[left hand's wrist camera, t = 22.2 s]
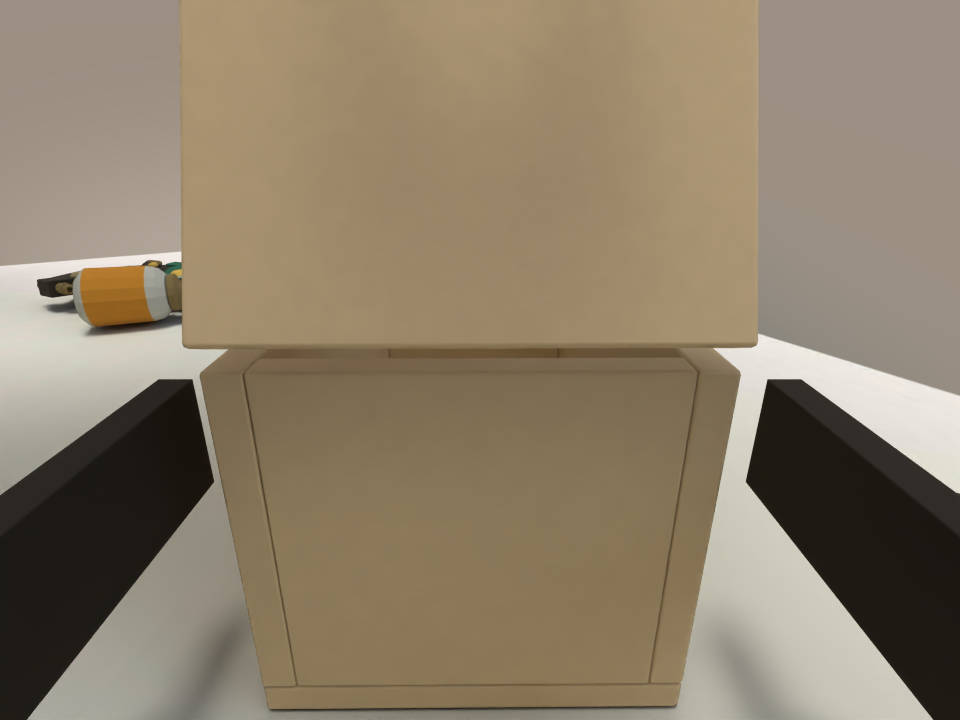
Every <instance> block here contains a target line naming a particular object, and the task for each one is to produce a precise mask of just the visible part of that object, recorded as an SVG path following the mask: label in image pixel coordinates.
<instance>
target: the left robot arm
mask: <svg viewBox="0 0 960 720" xmlns="http://www.w3.org/2000/svg"><path fill="white" fill-rule="evenodd" d="M213 483H214V479H213V474H212V469H211V465H210V460H209V455H208V450H207V446H206V441H205V436H204V432H203V427H202V422H201V418H200V413H199V408H198V403H197V399H196V394H195V389H194V385H193V380H192V379H159V380H157V381H156V382H155V383H153V384H152V385H151V386H149V387H148V388H146V389H145V390H144V391H142V392H141V393H140V394H138V395H137V396H135V397H134V398H133V399H131V400H130V401H129V402H127V403H126V404H125V405H123V406H122V407H120V408H119V409H118V410H116V411H115V412H114V413H112V414H111V415H110V416H108V417H107V418H105V419H104V420H103V421H101V422H100V423H99V424H97V425H96V426H94V427H93V428H92V429H90V430H89V431H88V432H86V433H85V434H84V435H82V436H81V437H79V438H78V439H77V440H75V441H74V442H73V443H71V444H70V445H69V446H67V447H66V448H64V449H63V450H62V451H60V452H59V453H58V454H56V455H55V456H53V457H52V458H51V459H49V460H48V461H47V462H45V463H44V464H43V465H41V466H40V467H38V468H37V469H36V470H34V471H33V472H32V473H30V474H29V475H28V476H26V477H25V478H23V479H22V480H21V481H19V482H18V483H17V484H15V485H14V486H12V487H11V488H10V489H8V490H7V491H6V492H4V493H3V494H2V495H0V720H27V719H28V717H29V716H30V715H31V714H32V712H33V711H34V710H35V709H36V707H37V706H38V705H39V703H40V702H41V701H42V700H43V698H44V697H45V696H46V695H47V693H48V692H49V691H50V690H51V688H52V687H53V686H54V684H55V683H56V682H57V681H58V679H59V678H60V677H61V676H62V674H63V673H64V672H65V671H66V669H67V668H68V667H69V665H70V664H71V663H72V662H73V660H74V659H75V658H76V657H77V655H78V654H79V653H80V651H81V650H82V649H83V648H84V646H85V645H86V644H87V643H88V641H89V640H90V639H91V638H92V636H93V635H94V634H95V632H96V631H97V630H98V629H99V627H100V626H101V625H102V624H103V622H104V621H105V620H106V618H107V617H108V616H109V615H110V613H111V612H112V611H113V610H114V608H115V607H116V606H117V605H118V603H119V602H120V601H121V599H122V598H123V597H124V596H125V594H126V593H127V592H128V591H129V589H130V588H131V587H132V585H133V584H134V583H135V582H136V580H137V579H138V578H139V577H140V575H141V574H142V573H143V572H144V570H145V569H146V568H147V566H148V565H149V564H150V563H151V561H152V560H153V559H154V558H155V556H156V555H157V554H158V552H159V551H160V550H161V549H162V547H163V546H164V545H165V544H166V542H167V541H168V540H169V539H170V537H171V536H172V535H173V533H174V532H175V531H176V530H177V528H178V527H179V526H180V525H181V523H182V522H183V521H184V519H185V518H186V517H187V516H188V514H189V513H190V512H191V511H192V509H193V508H194V507H195V506H196V504H197V503H198V502H199V500H200V499H201V498H202V497H203V495H204V494H205V493H206V492H207V490H208V489H209V488H210V486H211V485H212V484H213ZM746 483H747V484H748V485H749V486H750V488H751V489H752V490H753V492H754V493H755V494H756V495H757V497H758V498H759V499H760V500H761V502H762V503H763V504H764V506H765V507H766V508H767V509H768V511H769V512H770V513H771V514H772V516H773V517H774V518H775V519H776V521H777V522H778V523H779V525H780V526H781V527H782V528H783V530H784V531H785V532H786V533H787V535H788V536H789V537H790V539H791V540H792V541H793V542H794V544H795V545H796V546H797V547H798V549H799V550H800V551H801V552H802V554H803V555H804V556H805V558H806V559H807V560H808V561H809V563H810V564H811V565H812V566H813V568H814V569H815V570H816V572H817V573H818V574H819V575H820V577H821V578H822V579H823V580H824V582H825V583H826V584H827V585H828V587H829V588H830V589H831V591H832V592H833V593H834V594H835V596H836V597H837V598H838V599H839V601H840V602H841V603H842V605H843V606H844V607H845V608H846V610H847V611H848V612H849V613H850V615H851V616H852V617H853V618H854V620H855V621H856V622H857V624H858V625H859V626H860V627H861V629H862V630H863V631H864V632H865V634H866V635H867V636H868V638H869V639H870V640H871V641H872V643H873V644H874V645H875V646H876V648H877V649H878V650H879V651H880V653H881V654H882V655H883V657H884V658H885V659H886V660H887V662H888V663H889V664H890V665H891V667H892V668H893V669H894V671H895V672H896V673H897V674H898V676H899V677H900V678H901V679H902V681H903V682H904V683H905V684H906V686H907V687H908V688H909V690H910V691H911V692H912V693H913V695H914V696H915V697H916V698H917V700H918V701H919V702H920V704H921V705H922V706H923V707H924V709H925V710H926V711H927V712H928V714H929V715H930V716H931V717H932V719H933V720H960V494H959V493H956V492H954V491H953V490H952V489H950V488H949V487H948V486H946V485H945V484H943V483H942V482H941V481H939V480H938V479H937V478H935V477H934V476H932V475H931V474H930V473H928V472H927V471H926V470H924V469H923V468H922V467H920V466H919V465H917V464H916V463H915V462H913V461H912V460H911V459H909V458H908V457H907V456H905V455H904V454H902V453H901V452H900V451H898V450H897V449H896V448H894V447H893V446H891V445H890V444H889V443H887V442H886V441H885V440H883V439H882V438H881V437H879V436H878V435H876V434H875V433H874V432H872V431H871V430H870V429H868V428H867V427H866V426H864V425H863V424H861V423H860V422H859V421H857V420H856V419H855V418H853V417H852V416H850V415H849V414H848V413H846V412H845V411H844V410H842V409H841V408H840V407H838V406H837V405H835V404H834V403H833V402H831V401H830V400H829V399H827V398H826V397H825V396H823V395H822V394H820V393H819V392H818V391H816V390H815V389H814V388H812V387H811V386H809V385H808V384H807V383H805V382H804V381H803V380H801V379H768V380H767V385H766V389H765V394H764V399H763V403H762V408H761V413H760V418H759V422H758V427H757V432H756V436H755V441H754V446H753V450H752V455H751V460H750V465H749V469H748V474H747V479H746Z"/></svg>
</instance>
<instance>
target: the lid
mask: <svg viewBox="0 0 960 720" xmlns="http://www.w3.org/2000/svg"><path fill="white" fill-rule="evenodd" d="M758 25H759V0H180V114H181V241H182V344H183V346H184V347H185V348H188V349H512V348H752V347H754V346H756V345H757V343H758V35H759V32H758V31H759V30H758V29H759V27H758Z"/></svg>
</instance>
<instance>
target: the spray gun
mask: <svg viewBox="0 0 960 720" xmlns="http://www.w3.org/2000/svg"><path fill="white" fill-rule="evenodd" d="M37 286H38V288H39V291H40V294H41V295H42V296H47V297H51V298H54V297H61V296H67V295H73V298H74V304H75V307H76V310H77V312H78V314H79V316H80V317H81V318H82V319H83V320H84V321H85V322H87V323H88V324H89V325H91V326H93V327H97V326H107V325H118V324H128V323H138V322H149V321H158V320H160V319H163V318H166V317H167V316H168V315H169V314H170V313H171V311H172V310H173V311H174V310H181V309H182V263H181V262H172V263H168V264H166V265H162V262H161V261H155V260H148V261H146V262H145V263H143V264H142V265H138V266H124V267H106V268H84V269H82V270H81V271H78V272H73V273H69V274H65V275H60V276H56V277H52V278H46V279H38V280H37Z"/></svg>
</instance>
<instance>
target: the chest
mask: <svg viewBox="0 0 960 720" xmlns="http://www.w3.org/2000/svg"><path fill="white" fill-rule="evenodd" d="M740 376H741V374H740V371H739V370H738V369H737V368H735V367H734V366H733V365H732V364H731V363H730V362H728V361H727V360H726V359H725V358H724V357H723V356H721V355H720V354H719V353H718V352H717V351H715V350H714V349H713V348H512V349H229V350H227V351H226V352H225V353H224V354H223V355H221V356H220V357H219V358H218V359H217V360H215V361H214V362H213V363H212V364H210V365H209V366H208V367H207V368H206V369H204V370H203V371H202V372H201V373H200V380H201V385H202V390H203V395H204V399H205V404H206V409H207V414H208V419H209V424H210V429H211V433H212V438H213V443H214V448H215V453H216V458H217V463H218V468H219V472H220V477H221V482H222V487H223V492H224V497H225V502H226V506H227V511H228V516H229V521H230V526H231V531H232V536H233V541H234V545H235V550H236V555H237V560H238V565H239V570H240V575H241V579H242V584H243V589H244V594H245V599H246V604H247V609H248V613H249V618H250V623H251V628H252V633H253V638H254V643H255V648H256V652H257V657H258V662H259V667H260V672H261V677H262V682H263V685H264V686H265V693H266V698H267V703H268V707H269V708H270V709H342V708H469V707H596V706H675V705H677V703H678V697H679V692H680V687H681V683H680V682H681V681H682V678H683V673H684V667H685V662H686V657H687V652H688V647H689V641H690V636H691V631H692V626H693V621H694V615H695V610H696V605H697V600H698V595H699V589H700V584H701V579H702V574H703V569H704V563H705V558H706V553H707V548H708V543H709V537H710V532H711V527H712V522H713V517H714V511H715V506H716V501H717V496H718V491H719V485H720V480H721V475H722V470H723V465H724V459H725V454H726V449H727V444H728V439H729V433H730V428H731V423H732V418H733V413H734V407H735V402H736V397H737V392H738V387H739V381H740Z"/></svg>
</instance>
